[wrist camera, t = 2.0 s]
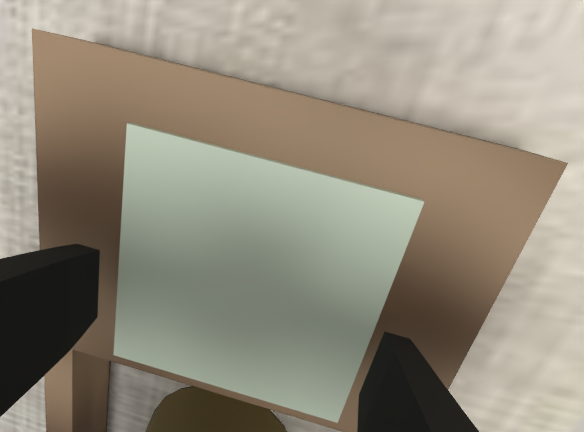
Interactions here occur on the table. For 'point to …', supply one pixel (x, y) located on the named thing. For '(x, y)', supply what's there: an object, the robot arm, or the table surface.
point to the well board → (263, 232)
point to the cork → (210, 414)
